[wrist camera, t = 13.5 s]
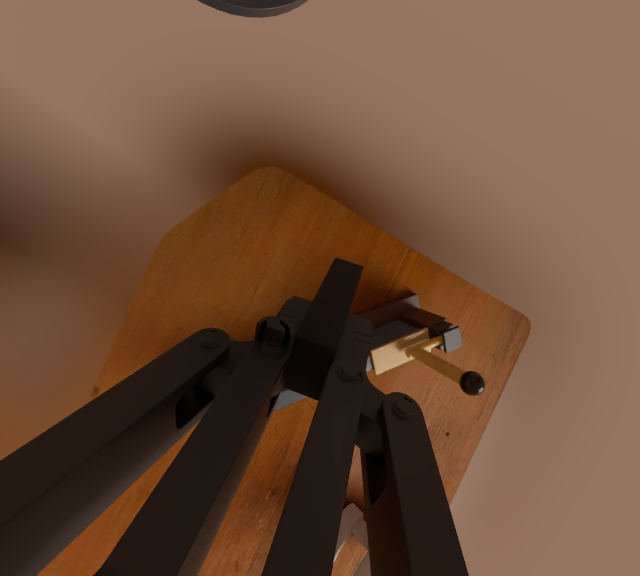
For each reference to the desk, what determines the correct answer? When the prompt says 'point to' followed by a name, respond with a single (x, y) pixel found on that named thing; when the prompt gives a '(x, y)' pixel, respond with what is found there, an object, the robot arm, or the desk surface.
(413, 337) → the sliding lever mechanism
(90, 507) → the robot arm
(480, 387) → the bolt
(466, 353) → the desk surface
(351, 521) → the handle
